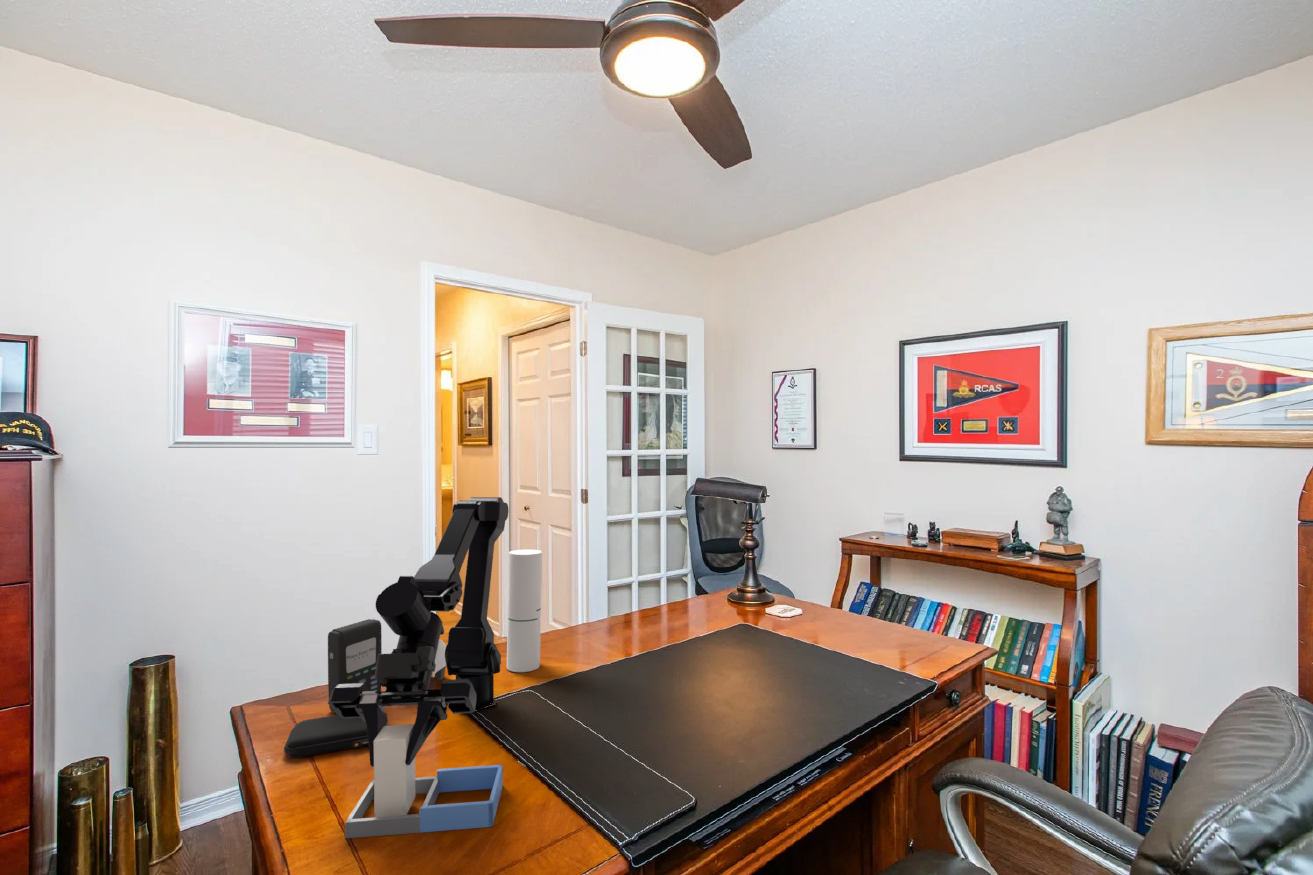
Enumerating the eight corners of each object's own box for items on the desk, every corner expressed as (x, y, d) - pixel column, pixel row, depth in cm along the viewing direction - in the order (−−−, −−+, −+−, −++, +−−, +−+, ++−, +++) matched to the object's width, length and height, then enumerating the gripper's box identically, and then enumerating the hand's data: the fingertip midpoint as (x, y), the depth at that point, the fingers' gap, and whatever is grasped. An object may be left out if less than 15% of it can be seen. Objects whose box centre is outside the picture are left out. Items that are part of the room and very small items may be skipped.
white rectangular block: (385, 798, 81) (384, 725, 81) (415, 796, 82) (414, 723, 82) (374, 817, 77) (373, 740, 77) (406, 814, 78) (405, 738, 78)
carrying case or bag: (279, 768, 91) (385, 749, 97) (279, 748, 91) (384, 730, 97) (293, 736, 101) (387, 720, 107) (292, 718, 101) (387, 703, 107)
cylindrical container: (545, 662, 133) (547, 550, 134) (529, 673, 126) (531, 555, 127) (517, 659, 135) (519, 548, 136) (500, 669, 128) (502, 553, 129)
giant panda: (426, 672, 128) (426, 628, 128) (450, 674, 126) (449, 629, 126) (382, 702, 113) (381, 652, 113) (408, 704, 112) (407, 654, 112)
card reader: (338, 716, 108) (338, 633, 108) (325, 711, 110) (325, 630, 110) (383, 697, 116) (383, 620, 116) (370, 693, 118) (370, 617, 118)
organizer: (345, 838, 74) (345, 814, 74) (371, 794, 83) (371, 773, 83) (492, 826, 76) (492, 803, 76) (502, 785, 86) (502, 764, 86)
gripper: (333, 626, 82) (291, 747, 71) (471, 622, 84) (451, 740, 73) (358, 662, 90) (323, 776, 79) (483, 657, 92) (467, 768, 80)
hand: (390, 765), depth 78 cm, fingers closed on white rectangular block, 4 cm apart
